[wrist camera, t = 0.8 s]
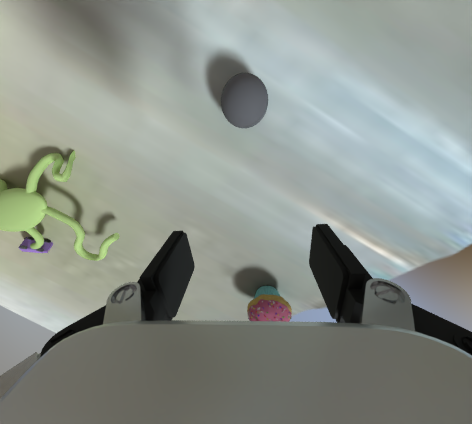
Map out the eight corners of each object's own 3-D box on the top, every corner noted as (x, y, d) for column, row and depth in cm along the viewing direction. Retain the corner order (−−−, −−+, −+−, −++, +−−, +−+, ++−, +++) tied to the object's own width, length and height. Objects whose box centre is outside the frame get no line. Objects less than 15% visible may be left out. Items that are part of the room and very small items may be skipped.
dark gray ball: (250, 68, 22) (251, 51, 17) (274, 110, 23) (280, 106, 18) (216, 99, 23) (206, 92, 18) (240, 136, 25) (237, 139, 20)
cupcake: (255, 308, 41) (257, 373, 30) (241, 283, 38) (238, 346, 27) (291, 301, 39) (307, 367, 28) (280, 274, 36) (293, 337, 25)
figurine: (138, 242, 36) (120, 262, 31) (28, 251, 39) (-5, 270, 34) (93, 147, 28) (59, 151, 23) (-40, 168, 31) (-95, 177, 26)
